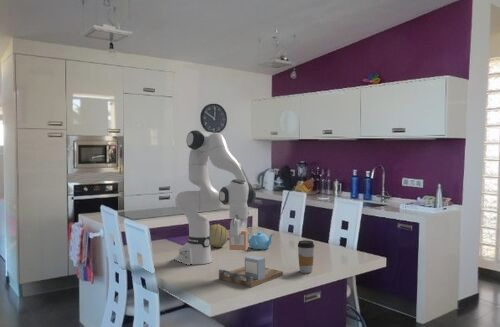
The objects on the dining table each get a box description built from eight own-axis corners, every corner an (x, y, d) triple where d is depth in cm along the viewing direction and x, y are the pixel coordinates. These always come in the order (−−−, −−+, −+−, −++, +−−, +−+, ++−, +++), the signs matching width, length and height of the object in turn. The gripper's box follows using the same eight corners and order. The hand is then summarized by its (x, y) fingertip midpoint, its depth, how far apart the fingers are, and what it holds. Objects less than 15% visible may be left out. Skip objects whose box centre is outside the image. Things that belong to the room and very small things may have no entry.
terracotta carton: (231, 247, 205) (231, 229, 205) (248, 248, 203) (248, 229, 203) (229, 249, 200) (229, 230, 200) (245, 250, 198) (245, 231, 198)
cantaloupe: (202, 249, 262) (202, 225, 262) (207, 244, 277) (207, 221, 276) (226, 250, 260) (225, 225, 260) (229, 245, 275) (229, 222, 274)
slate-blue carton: (251, 274, 200) (251, 255, 200) (265, 277, 195) (265, 258, 195) (244, 276, 196) (244, 257, 196) (257, 280, 191) (257, 260, 191)
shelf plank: (218, 279, 199) (218, 269, 199) (251, 268, 218) (251, 259, 218) (250, 287, 186) (250, 277, 186) (282, 275, 205) (282, 266, 205)
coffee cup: (317, 272, 209) (317, 242, 209) (302, 274, 207) (302, 244, 206) (309, 268, 217) (309, 239, 217) (294, 270, 214) (294, 240, 214)
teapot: (266, 245, 275) (266, 229, 274) (274, 250, 260) (274, 233, 260) (244, 246, 270) (244, 230, 270) (252, 251, 256) (252, 234, 256)
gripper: (240, 216, 191) (240, 247, 191) (249, 211, 211) (249, 238, 211) (226, 216, 192) (226, 246, 192) (237, 211, 212) (237, 238, 212)
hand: (238, 242), depth 202 cm, fingers closed on terracotta carton, 5 cm apart
